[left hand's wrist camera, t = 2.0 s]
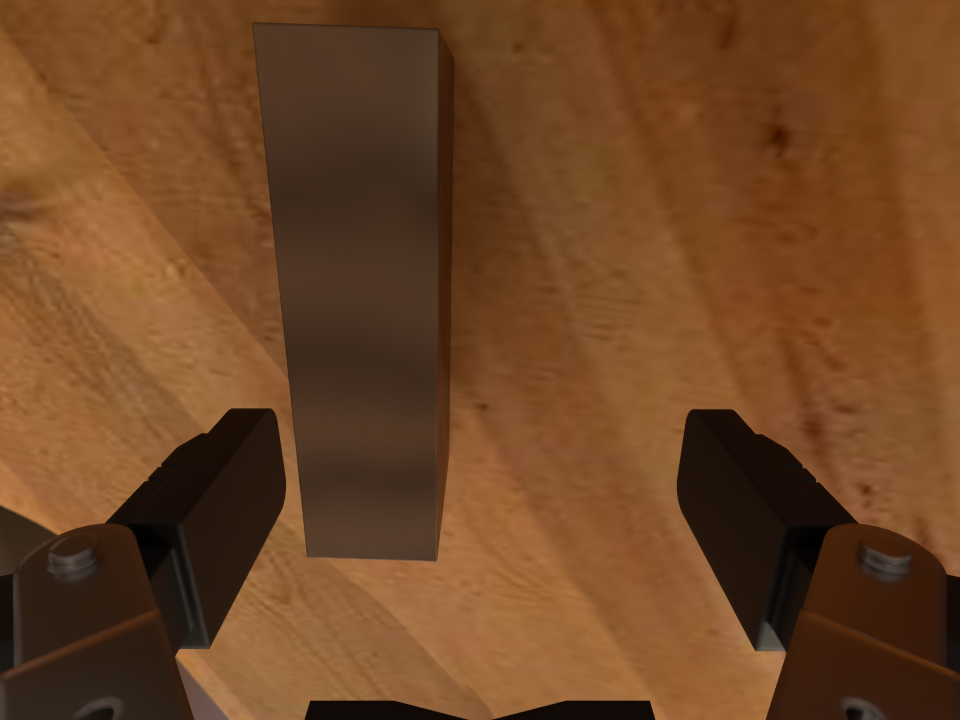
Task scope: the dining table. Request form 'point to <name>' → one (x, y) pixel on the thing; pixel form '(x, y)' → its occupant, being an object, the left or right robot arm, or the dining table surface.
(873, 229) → the dining table surface
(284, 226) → the box
